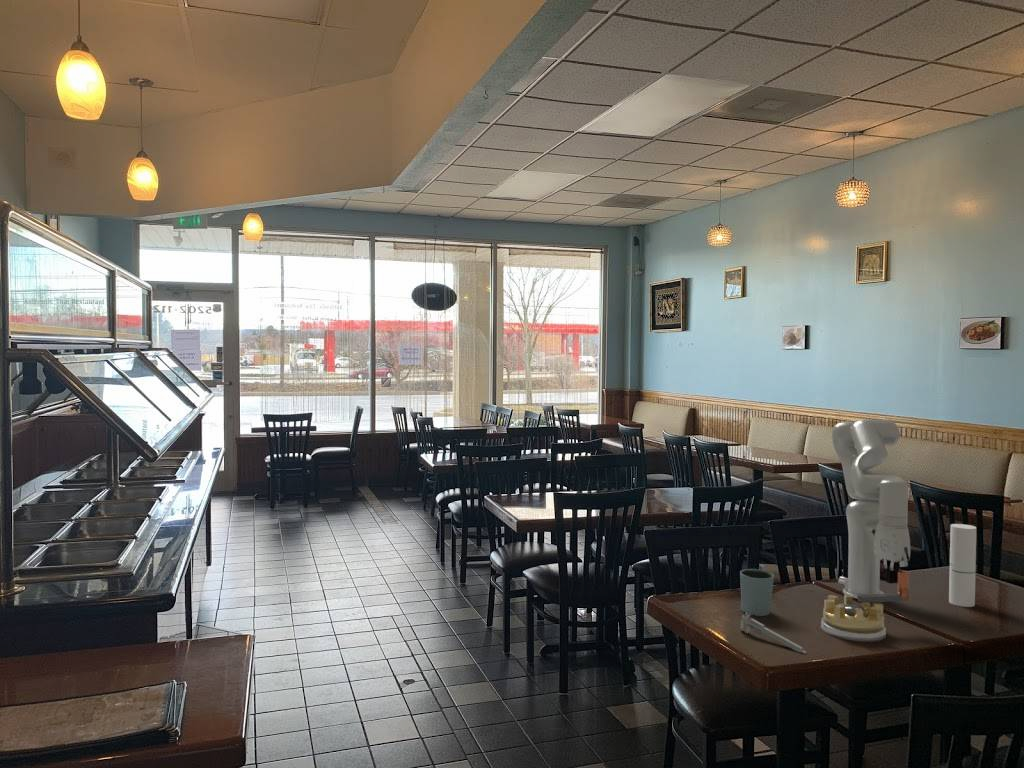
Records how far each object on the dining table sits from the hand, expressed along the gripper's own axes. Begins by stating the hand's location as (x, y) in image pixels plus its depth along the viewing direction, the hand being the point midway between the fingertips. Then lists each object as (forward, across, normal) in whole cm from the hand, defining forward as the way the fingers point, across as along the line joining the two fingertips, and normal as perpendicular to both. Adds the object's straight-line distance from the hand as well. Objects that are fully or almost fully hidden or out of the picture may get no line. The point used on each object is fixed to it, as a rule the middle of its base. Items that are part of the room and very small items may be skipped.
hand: (892, 582), depth 223 cm
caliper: (+13, +5, -44) cm, 46 cm away
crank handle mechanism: (+10, +3, -12) cm, 16 cm away
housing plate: (+12, +3, -16) cm, 20 cm away
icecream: (+12, -44, +31) cm, 55 cm away
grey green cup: (+12, -19, -33) cm, 40 cm away
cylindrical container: (+12, -10, +36) cm, 39 cm away
